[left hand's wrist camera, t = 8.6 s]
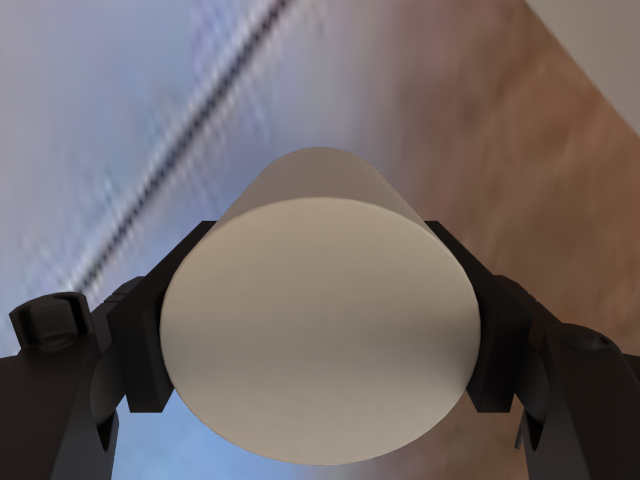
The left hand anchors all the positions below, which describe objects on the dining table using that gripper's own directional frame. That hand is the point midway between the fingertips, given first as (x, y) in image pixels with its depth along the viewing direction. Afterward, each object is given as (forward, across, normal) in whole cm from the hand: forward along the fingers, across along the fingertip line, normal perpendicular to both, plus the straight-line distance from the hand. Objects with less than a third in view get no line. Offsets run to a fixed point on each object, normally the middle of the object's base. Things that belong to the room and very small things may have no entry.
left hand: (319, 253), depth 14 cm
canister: (+3, 0, 0) cm, 3 cm away
